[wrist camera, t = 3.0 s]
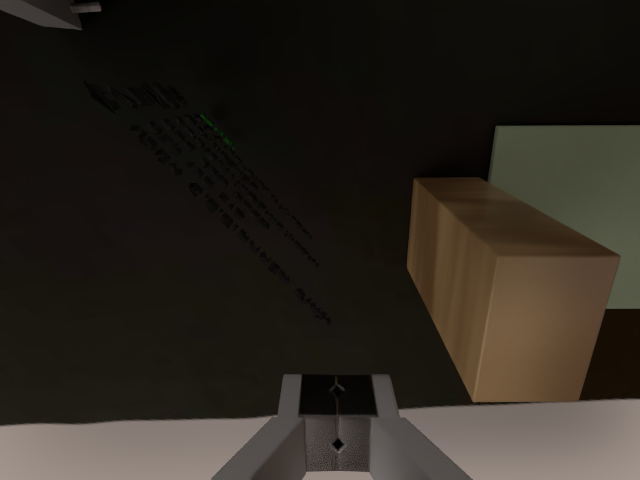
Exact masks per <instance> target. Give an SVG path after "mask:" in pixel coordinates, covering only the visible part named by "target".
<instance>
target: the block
mask: <svg viewBox="0 0 640 480" xmlns="http://www.w3.org/2000/svg"><path fill="white" fill-rule="evenodd" d="M620 258H621V256H620V255H619V254H617V253H615V252H613V251H611V250H610V249H608V248H606V247H604V246H602V245H601V244H599V243H597V242H595V241H593V240H592V239H590V238H588V237H586V236H584V235H582V234H581V233H579V232H577V231H575V230H573V229H572V228H570V227H568V226H566V225H564V224H563V223H561V222H559V221H557V220H555V219H553V218H552V217H550V216H548V215H546V214H544V213H543V212H541V211H539V210H537V209H535V208H534V207H532V206H530V205H528V204H526V203H524V202H523V201H521V200H519V199H517V198H515V197H514V196H512V195H510V194H508V193H506V192H504V191H503V190H501V189H499V188H497V187H495V186H494V185H492V184H490V183H488V182H486V181H485V180H483V179H481V178H479V177H461V178H414V183H413V195H412V207H411V219H410V231H409V244H408V256H407V269H408V271H409V273H410V275H411V277H412V279H413V281H414V283H415V285H416V287H417V289H418V291H419V293H420V295H421V297H422V299H423V301H424V303H425V305H426V307H427V309H428V311H429V313H430V315H431V317H432V319H433V322H434V324H435V326H436V328H437V330H438V332H439V334H440V336H441V338H442V340H443V342H444V344H445V346H446V348H447V350H448V352H449V354H450V356H451V358H452V360H453V362H454V364H455V366H456V368H457V370H458V372H459V374H460V376H461V378H462V380H463V382H464V384H465V386H466V388H467V390H468V392H469V395H470V397H471V399H472V401H473V402H552V401H578V400H579V397H580V394H581V390H582V387H583V384H584V380H585V377H586V374H587V370H588V367H589V363H590V360H591V357H592V353H593V350H594V346H595V343H596V340H597V336H598V333H599V329H600V326H601V323H602V319H603V316H604V312H605V309H606V306H607V302H608V299H609V296H610V292H611V289H612V285H613V282H614V279H615V275H616V272H617V268H618V265H619V262H620Z"/></svg>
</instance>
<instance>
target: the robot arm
mask: <svg viewBox="0 0 640 480" xmlns="http://www.w3.org/2000/svg"><path fill="white" fill-rule="evenodd" d="M307 471H362V472H363V471H364V472H370V474H371V476H372V477H373V479H374V480H473V479H471V478H470V477H469V476H468V475H467V474H466V473H465V472H464V471H463V470H461V468H459V467H458V466H457V465H456V464H455V463H454V462H453V461H452V460H451V459H450V458H449V457H447V456H446V455H445V454H444V453H443V452H442V451H441V450H439V448H438V447H436V446H435V445H434V444H433V443H432V442H431V441H430V440H429V439H428V438H427V437H426V436H425V435H423V434H422V433H421V432H420V431H419V430H418V429H417V428H416V427H415V426H414V425H412V424H411V423H410V422H409V421H408V420H407V419H406V418H400V416H399V412H398V408H397V403H396V399H395V395H394V391H393V387H392V382H391V378H390V376H389V375H388V374H374V375H313V374H302V375H301V374H285V375H284V377H283V382H282V389H281V396H280V403H279V410H278V416H277V417H272V418H271V419H270V420H269V421H268V422H267V423H266V424H265V425H264V426H263V427H262V428H261V429H260V430H259V431H258V432H257V433H256V434H255V435H254V436H253V437H252V438H251V439H250V440H249V441H248V442H247V443H246V444H245V445H244V446H243V448H241V449H240V450H239V451H238V452H237V453H236V454H235V456H233V457H232V458H231V459H230V460H229V461H228V462H227V463H226V464H225V465H224V466H223V467H222V468H221V469H220V470H219V471H218V472H217V473H216V474H215V476H213V477H212V479H211V480H302V478H303V477H304V476H305V474H306V472H307Z"/></svg>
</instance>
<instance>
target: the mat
mask: <svg viewBox="0 0 640 480" xmlns="http://www.w3.org/2000/svg"><path fill="white" fill-rule="evenodd" d="M488 183H490V184H492V185H494V186H495V187H497V188H499V189H501V190H503V191H504V192H506V193H508V194H510V195H512V196H514V197H515V198H517V199H519V200H521V201H523V202H524V203H526V204H528V205H530V206H532V207H534V208H535V209H537V210H539V211H541V212H543V213H544V214H546V215H548V216H550V217H552V218H553V219H555V220H557V221H559V222H561V223H563V224H564V225H566V226H568V227H570V228H572V229H573V230H575V231H577V232H579V233H581V234H582V235H584V236H586V237H588V238H590V239H592V240H593V241H595V242H597V243H599V244H601V245H602V246H604V247H606V248H608V249H610V250H611V251H613V252H615V253H617V254H619V255H620V256H621V258H620V262H619V265H618V268H617V272H616V275H615V279H614V282H613V285H612V289H611V292H610V296H609V299H608V302H607V306H606V309H620V308H640V125H552V126H496V128H495V135H494V142H493V148H492V155H491V162H490V168H489V175H488Z"/></svg>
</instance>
